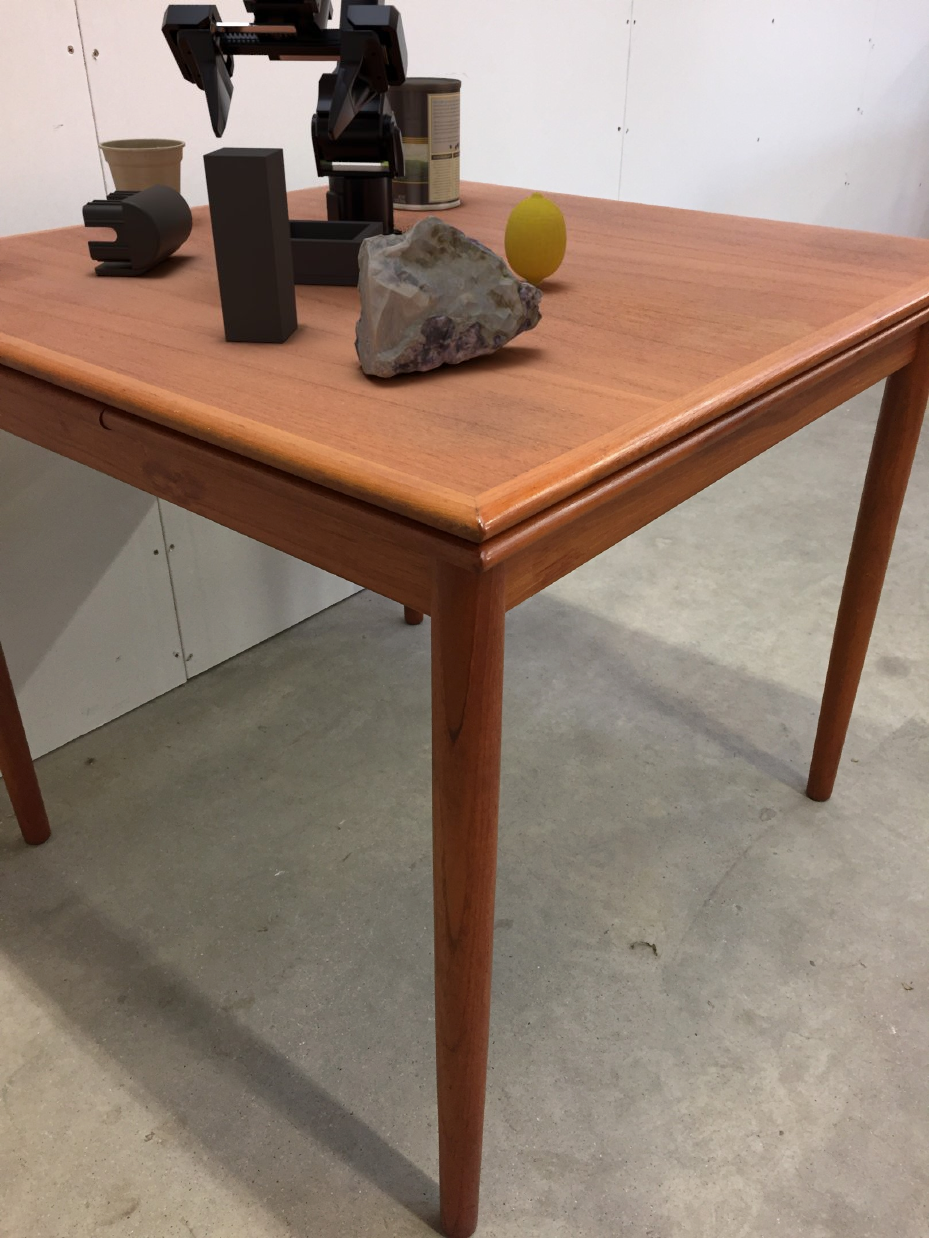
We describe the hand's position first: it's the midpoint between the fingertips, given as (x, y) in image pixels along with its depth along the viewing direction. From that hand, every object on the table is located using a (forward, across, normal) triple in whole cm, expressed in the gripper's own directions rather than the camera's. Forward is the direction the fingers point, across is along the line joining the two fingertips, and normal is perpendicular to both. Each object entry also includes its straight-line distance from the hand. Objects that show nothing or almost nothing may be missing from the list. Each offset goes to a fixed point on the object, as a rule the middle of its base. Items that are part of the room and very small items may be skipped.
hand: (273, 135), depth 78 cm
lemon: (+2, +20, +17) cm, 26 cm away
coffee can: (-28, +3, +46) cm, 54 cm away
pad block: (+15, 0, +4) cm, 15 cm away
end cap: (0, -18, +19) cm, 26 cm away
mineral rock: (+19, +16, 0) cm, 25 cm away
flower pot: (-15, -25, +34) cm, 45 cm away
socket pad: (0, 0, +19) cm, 19 cm away
